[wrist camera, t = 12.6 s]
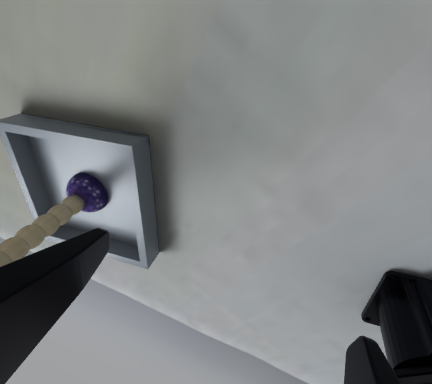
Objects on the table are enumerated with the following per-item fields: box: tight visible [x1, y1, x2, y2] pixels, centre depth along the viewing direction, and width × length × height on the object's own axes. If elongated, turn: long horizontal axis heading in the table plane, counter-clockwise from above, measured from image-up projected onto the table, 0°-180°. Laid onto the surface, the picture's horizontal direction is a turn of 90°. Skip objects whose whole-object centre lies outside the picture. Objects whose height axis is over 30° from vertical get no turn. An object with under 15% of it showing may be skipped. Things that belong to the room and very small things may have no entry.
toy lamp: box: [0, 173, 108, 267], centre depth 20 cm, size 5×5×17 cm
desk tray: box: [0, 114, 159, 269], centre depth 27 cm, size 14×14×2 cm
